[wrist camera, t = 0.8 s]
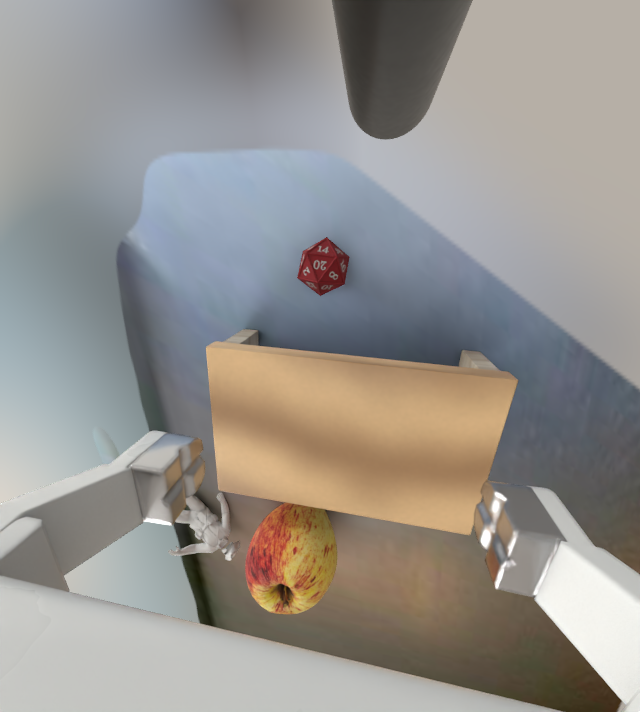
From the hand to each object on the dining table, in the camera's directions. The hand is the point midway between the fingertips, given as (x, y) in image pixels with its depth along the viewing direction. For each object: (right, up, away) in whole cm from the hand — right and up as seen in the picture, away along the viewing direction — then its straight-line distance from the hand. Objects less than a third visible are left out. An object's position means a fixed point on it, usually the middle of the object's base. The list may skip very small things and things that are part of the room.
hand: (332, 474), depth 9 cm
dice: (0, +11, +17) cm, 20 cm away
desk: (+3, -1, +21) cm, 21 cm away
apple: (-2, -15, +27) cm, 31 cm away
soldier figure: (-15, -15, +29) cm, 36 cm away
